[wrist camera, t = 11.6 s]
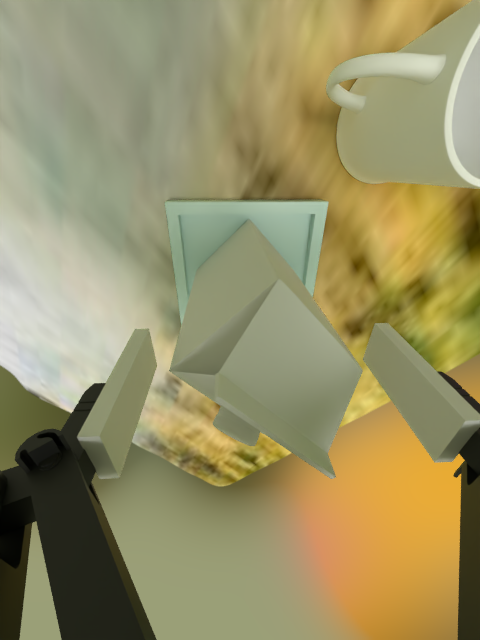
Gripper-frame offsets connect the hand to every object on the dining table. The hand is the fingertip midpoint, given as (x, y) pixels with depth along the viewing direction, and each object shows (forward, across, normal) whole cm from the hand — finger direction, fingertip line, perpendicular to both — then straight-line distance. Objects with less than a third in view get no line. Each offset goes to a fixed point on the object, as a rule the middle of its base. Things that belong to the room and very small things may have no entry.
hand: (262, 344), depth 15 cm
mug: (+14, +10, +12) cm, 21 cm away
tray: (+13, 0, -1) cm, 13 cm away
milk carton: (+13, 0, 0) cm, 13 cm away
